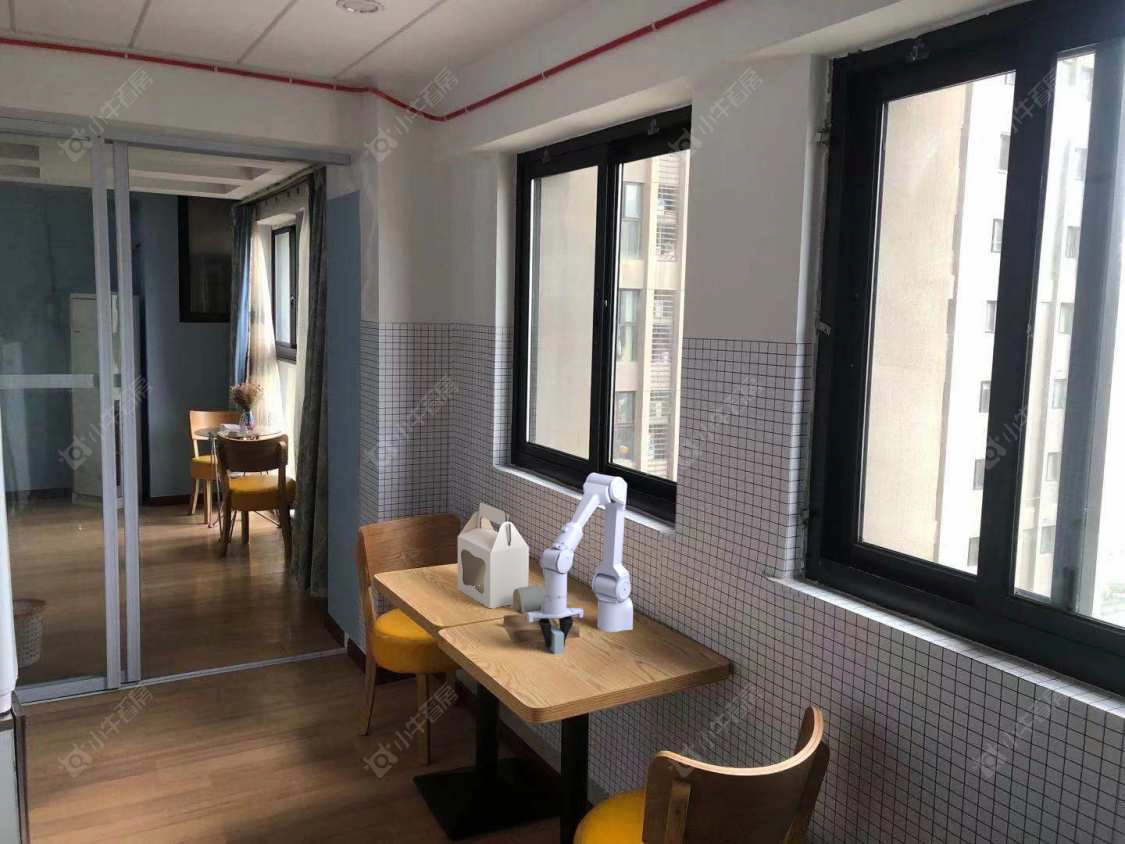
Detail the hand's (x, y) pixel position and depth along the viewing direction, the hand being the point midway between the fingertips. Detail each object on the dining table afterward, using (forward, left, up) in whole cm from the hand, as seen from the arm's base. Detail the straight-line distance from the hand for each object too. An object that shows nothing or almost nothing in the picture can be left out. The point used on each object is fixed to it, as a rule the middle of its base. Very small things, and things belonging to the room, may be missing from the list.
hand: (554, 645), depth 235 cm
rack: (0, -13, -2) cm, 13 cm away
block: (0, 0, -2) cm, 2 cm away
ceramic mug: (-1, -31, -2) cm, 31 cm away
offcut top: (-6, -13, +1) cm, 14 cm away
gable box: (+7, -49, -2) cm, 49 cm away
